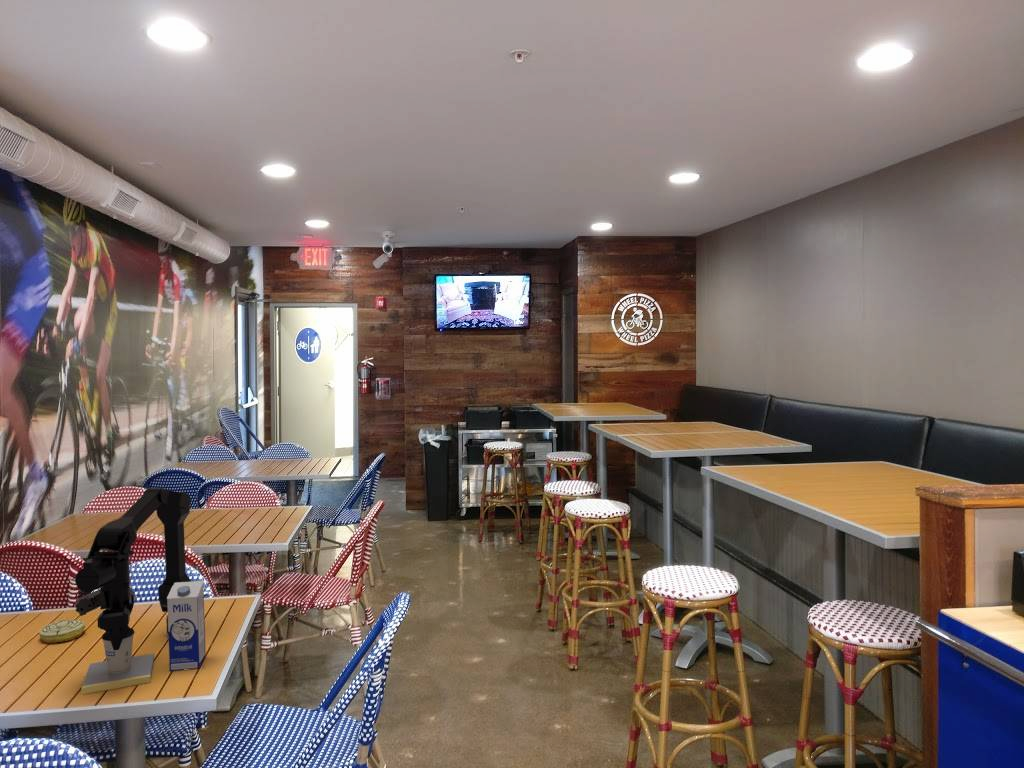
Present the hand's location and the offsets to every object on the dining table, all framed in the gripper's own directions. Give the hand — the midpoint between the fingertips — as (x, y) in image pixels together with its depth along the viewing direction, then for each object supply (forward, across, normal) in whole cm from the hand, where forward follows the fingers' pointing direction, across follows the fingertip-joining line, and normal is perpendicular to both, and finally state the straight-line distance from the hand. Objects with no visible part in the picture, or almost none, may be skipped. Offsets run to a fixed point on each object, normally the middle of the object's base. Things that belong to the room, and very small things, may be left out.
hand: (118, 642), depth 170 cm
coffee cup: (+7, 0, 0) cm, 7 cm away
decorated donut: (+9, -34, -17) cm, 39 cm away
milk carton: (+8, 0, +15) cm, 17 cm away
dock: (+8, 0, 0) cm, 8 cm away
